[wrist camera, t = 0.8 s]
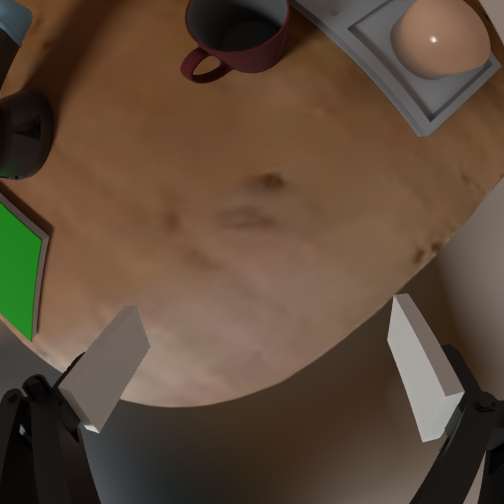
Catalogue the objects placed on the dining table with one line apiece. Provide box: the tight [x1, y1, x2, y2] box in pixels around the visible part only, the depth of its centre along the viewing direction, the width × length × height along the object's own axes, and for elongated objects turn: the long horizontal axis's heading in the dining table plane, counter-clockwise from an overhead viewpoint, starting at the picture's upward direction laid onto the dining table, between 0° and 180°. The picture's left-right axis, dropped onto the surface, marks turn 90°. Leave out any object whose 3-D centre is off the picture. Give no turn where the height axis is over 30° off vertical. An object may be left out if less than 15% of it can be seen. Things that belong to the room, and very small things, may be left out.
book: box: [0, 193, 49, 342], centre depth 44 cm, size 22×28×3 cm
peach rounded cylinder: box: [390, 0, 490, 80], centre depth 20 cm, size 9×9×9 cm
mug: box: [181, 0, 290, 84], centre depth 24 cm, size 12×9×11 cm
